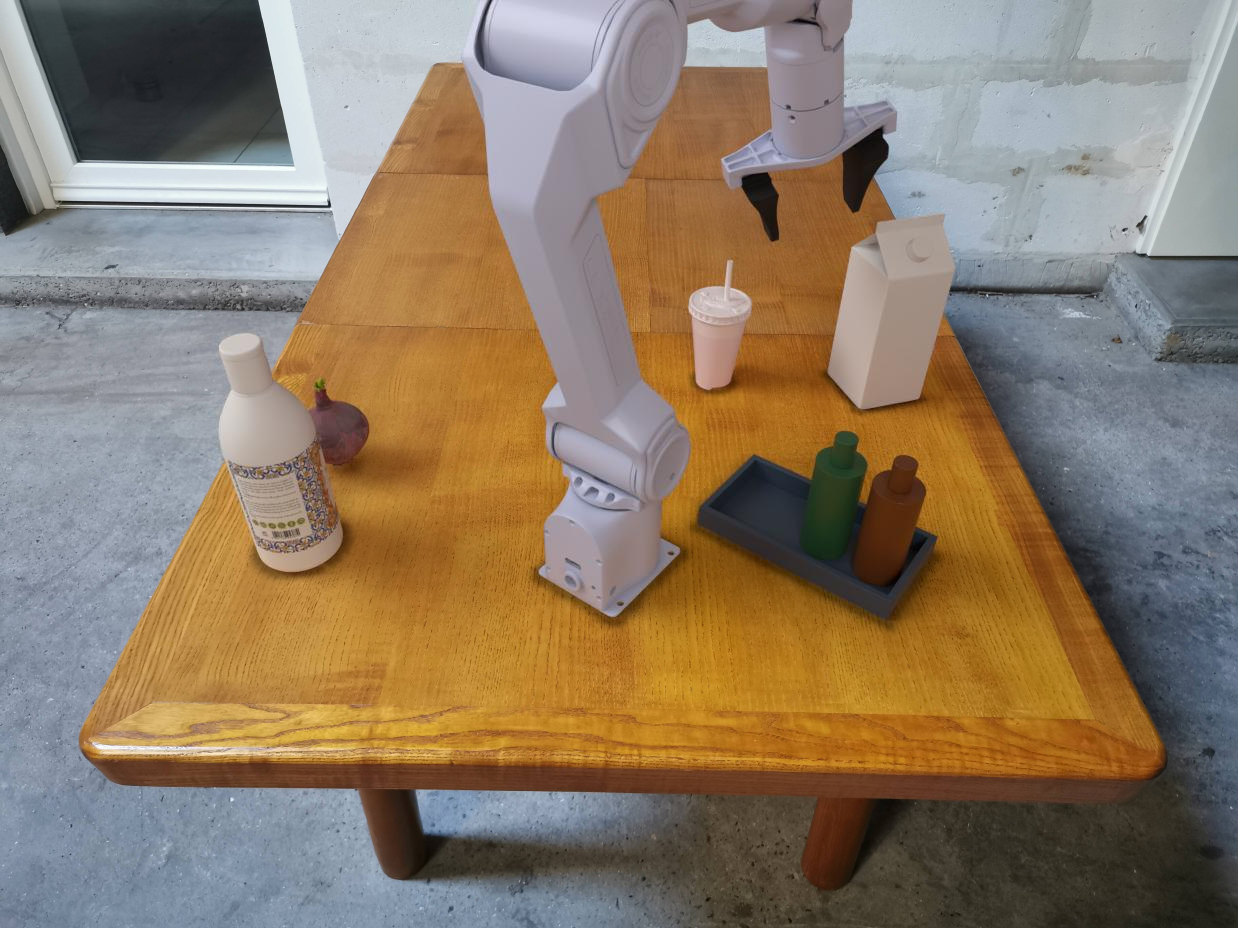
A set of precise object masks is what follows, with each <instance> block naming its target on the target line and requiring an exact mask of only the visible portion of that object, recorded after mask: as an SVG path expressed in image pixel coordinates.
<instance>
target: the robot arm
mask: <svg viewBox="0 0 1238 928" xmlns="http://www.w3.org/2000/svg"><path fill="white" fill-rule="evenodd" d="M853 2H854V1H853V0H478V2H477V5H476V8H475V10H474V14H473V18H472V20H471V23H470V27H469V30H468V33H467V36H466V40H465V43H464V45H463V49H462V52H461V55H460V60H461V62H462V64H463V65H462V66H463V68H464V71H465V74H466V77H467V79H468V83H469V85H470V88H471V91H472V94H473V97H474V100H475V102H476V105H477V109H478V110H479V114H480V117H481V120H482V122H483V125H484V137H485V138H484V139H485V147H486V148H485V150H486V163H487V178H488V189H489V197H490V200H491V204H492V209H493V211H494V213H495V216H496V219H497V221H498V224H499V227H500V230H501V232H502V235H503V237H504V241H505V243H506V246H507V248H508V250H509V251H508V252H509V253H510V256H511V259H512V262H513V265H514V267H515V270H516V272H517V276H518V278H519V280H520V284H521V286H522V289H523V291H524V293H525V294H524V295H525V297H526V300H527V303H528V305H529V307H530V311H531V314H532V316H533V318H534V321H535V324H536V326H537V329H538V332H539V335H540V337H541V340H542V343H543V345H544V348H545V351H546V354H547V356H548V358H549V362H550V364H551V367H552V369H553V372H554V375H555V377H556V381H557V382H556V383H555V384H554V385H553V387H552V388H551V389H550V391H549V393H548V395H547V396H546V398H545V400H544V402H543V404H542V405H541V411H542V412H543V414H544V419H545V425H546V426H545V445H546V449H547V453H548V454H549V455H550V456H551V457H552V458H553V459H554V460H556V461H559V462H561V465H562V466H561V467H562V472H561V473H562V475H563V476H564V477H566V478H567V479H568V480H569V483H568V487H567V489H566V492H565V494H564V497H563V498H562V500H561V501H560V503H559V505H558V506H557V507H556V508H555V509H554V510H553V511H552V512H551V513H550V514H549V515H548V516H547V518H546V520H545V521H544V523H543V544H544V560H545V561H544V562H545V563H544V564H543V565H542V566H541V567H540V568H539V569H538V574H539V576H540V577H542V578H544V579H546V580H548V582H551V583H552V584H554V585H556V586H557V587H559V588H561V589H563V590H564V591H566V592H568V593H569V594H570V595H572V596H574V597H576V598H578V599H579V600H581V601H582V602H584V603H586V604H587V605H589V606H591V607H593V608H594V609H596V610H597V611H599V612H601V613H603V614H604V615H606V616H608V617H609V618H615V617H617V616H620V614H621V613H622V612H623V610H625V609H626V608H627V607H628V606H629V605H630V604H631V603H632V602H633V601H634V600H635V599H636V598H637V597H638V596H639V595H640V594H641V593H642V592H643V590H645V589H646V588H647V587H648V586H649V585H650V584H651V583H652V582H653V581H654V580H655V579H656V578H657V577H658V576H659V575H660V574H661V573H662V571H664V570H665V569H666V568H667V567H668V566H669V564H671V563H672V562H673V560H675V559H676V558H677V557H678V556H679V555H680V554H681V548H680V547H679V546H677V545H675V544H673V543H672V542H670V541H668V540H666V539H664V538H662V537H661V534H662V515H663V501H664V499H666V498H667V497H668V496H670V495H671V493H673V491H674V490H675V489H676V487H677V486H678V485H679V483H680V482H681V480H682V479H683V477H684V474H685V472H686V470H687V467H688V464H689V461H690V457H691V451H692V449H691V448H692V443H691V439H690V432H689V430H688V427H686V426H685V425H684V424H682V423H680V421H679V420H678V417H677V413H676V410H675V408H674V407H673V405H671V404H670V403H669V402H668V401H667V400H666V399H664V397H663V396H661V395H660V394H659V393H658V392H657V391H656V390H655V389H653V388H652V387H651V386H650V385H649V384H648V383H647V382H646V381H645V380H644V379H643V378H642V374H641V371H640V367H639V361H638V358H637V357H638V356H637V353H636V349H635V346H634V342H633V337H632V334H631V331H630V330H631V329H630V326H629V321H628V318H627V313H626V310H625V306H624V301H623V297H622V294H621V290H620V286H619V282H618V278H617V274H616V270H615V265H614V262H613V258H612V255H611V249H610V245H609V241H608V238H607V234H606V230H605V226H604V222H603V218H602V214H601V210H600V206H599V202H598V197H600V196H602V195H605V194H607V193H610V192H612V191H613V192H614V191H616V190H618V189H621V188H622V187H624V186H625V184H626V183H627V180H628V179H629V176H630V175H631V173H632V171H633V169H634V167H635V165H636V164H637V162H638V160H639V158H640V156H641V155H642V152H643V151H644V149H645V147H646V146H647V143H648V141H649V140H650V138H651V136H652V134H653V132H654V130H655V129H656V126H657V125H658V123H659V121H660V119H661V117H662V116H663V114H664V112H665V110H666V108H667V107H668V105H669V103H670V102H671V100H672V98H673V96H674V94H675V92H676V89H677V86H678V83H679V80H680V77H681V71H682V68H683V67H684V66H685V64H686V62H687V55H688V54H687V53H688V43H689V42H688V39H689V32H688V31H689V30H688V26H689V25H691V24H694V23H698V22H702V21H706V20H709V21H710V22H711V24H713V25H714V26H716V27H718V28H719V29H721V30H723V31H726V32H730V33H741V32H745V31H751V30H755V29H760V28H763V31H764V43H765V45H764V46H765V55H766V68H767V81H768V93H769V94H768V96H769V106H770V119H771V128H770V129H768V130H767V131H765V132H764V133H762V134H761V135H759V136H758V137H756V138H755V139H753V140H752V141H750V142H749V143H747V144H746V145H745V146H742V148H740V149H738V150H736V151H735V152H733V153H730V154H729V155H726V156H724V157H721V158H720V162H721V163H720V164H721V171H722V177H723V179H724V180H725V183H726V185H727V186H728V188H729V190H730V191H733V190H736V189H739V188H741V189H742V191H743V193H744V194H745V196H746V198H747V200H748V201H749V202H750V204H751V205H752V206H753V208H754V209H755V210H756V211H757V212H758V214H759V217H760V220H761V222H762V226H763V230H764V232H765V234H766V236H767V237H768V239H769V241H770V242H772V243H775V242H777V241H780V230H779V223H778V202H779V198H780V194H779V193H778V191H777V189H776V188H775V186H774V184H773V179H772V177H771V176H770V174H769V173H771V172H781V171H790V170H798V169H799V170H800V169H808V168H814V167H818V166H819V167H820V166H822V165H825V164H827V163H829V162H831V161H833V160H834V159H835V158H837V157H838V156H840V155H841V156H842V159H841V160H842V197H843V201H844V203H845V204H846V206H847V207H848V209H849V210H850V212H851V214H855V213H858V212H860V210H861V207H862V205H863V202H864V201H863V200H864V199H865V196H866V193H867V190H868V188H869V186H870V184H871V182H872V180H873V178H874V176H875V175H876V174H877V172H878V170H879V169H880V168H881V166H882V165H883V164H884V163H885V162H886V161H887V160H888V158H889V152H890V145H889V143H888V141H887V140H886V139H885V138H884V135H889V134H892V133H894V132H897V125H898V123H897V122H898V110H897V109H896V108H895V107H894V105H893V104H892V103H891V102H890V100H889V99H888V98H885V99H881V100H878V101H875V102H870V103H865V104H858V105H857V104H856V105H849V106H845V34H846V33H847V32H848V30H849V29H850V27H851V20H852V19H853ZM669 553H673V554H669ZM619 603H622V605H619Z"/></svg>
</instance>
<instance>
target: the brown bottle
mask: <svg viewBox="0 0 1238 928" xmlns="http://www.w3.org/2000/svg"><path fill="white" fill-rule="evenodd" d="M919 464H920V463H919V461H918V460H917V459H916V458H915V457H914V456H911V455H907V454H899V455H896V456H895V457H894V458H893V461H892V465H891V469H887V470H883V471H882V470H881V471H880V472H878V473H877V474H875V475H874V477H873V479H872V481H871V485H870V489H869V493H868V497H867V501H866V503H865V504H866V508H865V512H864V516H863V520H862V524H861V528H860V531H859V535H858V539H857V543H856V547H855V551H854V555H853V559H852V563H851V566H852V570H853V572H854V573H855V575H856V576H857V577H858V578H859V579H860V580H862V581H864V582H865V583H868V584H870V585H874V586H889V585H892V584H894V583H896V582H897V581H898V580H899V578H900V576H901V573H902V570H903V566H904V563H905V560H906V557H907V554H908V550H909V547H910V544H911V541H912V538H913V534H914V531H915V528H916V527H917V525H918V521H919V518H920V515H921V511H922V510H923V509H922V508H923V506H924V503H925V499H926V496H927V487H926V485H925V483H924V482H923V481H922V480H921V479H920V478H919V477H917V472H918V469H919Z"/></svg>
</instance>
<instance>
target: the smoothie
mask: <svg viewBox="0 0 1238 928" xmlns="http://www.w3.org/2000/svg"><path fill="white" fill-rule="evenodd" d="M733 266H734V260H732V259H727V261H726V271H725V280H724V286H723V285H722V286H721V285H712V286H705V287H701V288H699V289H697V290H695V291H694V292H693V293H692V294H690V297H689V300H688V306H687V310H688V313H689V314H690V315H691V328H692V340H693V341H692V342H693V357H694V372H695V373H694V375H695V382H696V385H697V386H699V387H700V388H701V389H703V390H707V391H711V390H712V389H713V388H722V387H725V386H728V385H729V384H730V383H731V381H732V377H733V374H734V370H735V366H736V362H737V358H738V355H739V350H740V347H741V343H742V339H743V335H744V331H745V329H746V324H747V320H748V319H749V318H750V316H752V312H753V311H752V310H753V308H752V307H753V301H752V299H751V297H750V296H749V295H748V294H747V293H745V292H744V291H742V290H740V289H737V288H734V287H731V286H732V276H733Z"/></svg>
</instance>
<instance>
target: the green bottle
mask: <svg viewBox="0 0 1238 928" xmlns="http://www.w3.org/2000/svg"><path fill="white" fill-rule="evenodd" d="M859 442H860V438H859V436H858V435H857V434H856V433H855V432H852V431H851V430H840V431H838V432H836V434H835V435H834V439H833V444H832V445H831V446H827V447H824V448H822V449H820V450H819V451H818V452H817V454H816V455H815V461H814V465H813V471H812V475H811V485H810V490H809V495H808V500H807V505H806V510H805V515H804V520H803V525H802V530H801V535H800V544H801V547H802V548H803V550H804V551H805V552H806V553H808V554H809V555H811V556H812V557H815V558H818V559H822V560H834V559H837V558H840V557H841V556H843V555H844V554H845V553H846V551H847V548H848V544H849V540H850V536H851V532H852V528H853V524H854V520H855V516H856V512H857V508H858V504H859V501H860V499H861V497H862V496H861V495H862V491H863V488H864V487H863V486H864V483H865V479H866V475H867V471H868V467H869V466H868V461H867V459H866V458H865V456H864V455H863V454H861V452H859V451H857V450H858V445H859Z"/></svg>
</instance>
